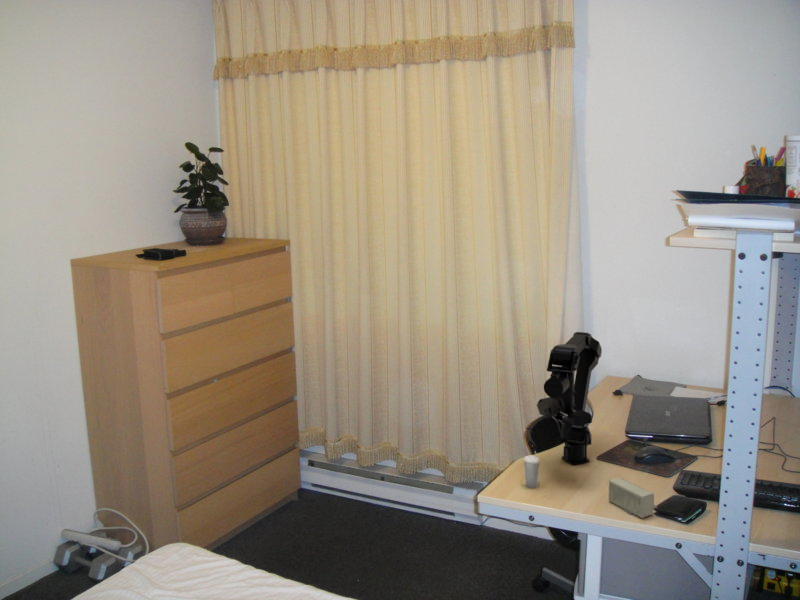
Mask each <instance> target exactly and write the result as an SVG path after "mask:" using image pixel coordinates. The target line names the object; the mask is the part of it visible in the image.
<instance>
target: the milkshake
mask: <svg viewBox="0 0 800 600" xmlns="http://www.w3.org/2000/svg"><path fill="white" fill-rule="evenodd" d="M542 455H543V454H541V456H540V457H537V456H536V455H530V454H529V455H525V457H523V468H524V479H525V480H524V481H525V487H526V488H529V489H534V488H536V487H538V480H539V479H538V478H539V467H540V460H541V458H542Z"/></svg>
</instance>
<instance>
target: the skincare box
mask: <svg viewBox="0 0 800 600" xmlns="http://www.w3.org/2000/svg"><path fill="white" fill-rule="evenodd" d="M654 497H655V493H654V492H652V491H650V490H648V489H645V488H643V487H641V486H640V485H637V484H635V483H633V482H631V481H630V480H628V479H625V478H623V477H621V476H619V477H614V478H611V479H610V480H608V501H609V502H610V503H612V502H613V503H615V504H617V505H618V506H620V507H622V508H624V509H626V510H628V511H630V512H632V513H633V514H632V515H635V516H637V517H639V518H641V519H644V518H647V517H649V516H651V515H654V509H653V508H654V505H655V502H654V501H655V498H654ZM613 503H612V504H613ZM615 504H614V505H615ZM618 506H617V507H618Z"/></svg>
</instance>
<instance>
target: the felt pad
mask: <svg viewBox="0 0 800 600" xmlns="http://www.w3.org/2000/svg"><path fill="white" fill-rule="evenodd" d="M611 503H612V504H613V505H615V506H617V507H618V508H619V509H621V510H623V512H626V513H627V514H629V515H634V514H633V513H632V512H630V511H628V510H626V509H624V508H622V507H620V506H618V505H617V504H615V503H613V502H611ZM656 509H658V506H657V505H655V504H654V508H653V510H656Z"/></svg>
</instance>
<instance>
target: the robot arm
mask: <svg viewBox="0 0 800 600" xmlns="http://www.w3.org/2000/svg"><path fill="white" fill-rule="evenodd" d="M602 354H603V353H602V346H601V344H600V342H599V341H598V340H597V339H596V338H594V337H593V336H592V334H591V333H589V332H584V331H581V332H580V331H577V332H574V333H573V334H572V337H571V338H569V340H567V342H565V343H564V344H557V345H554V347H552V349H551V350H550V354H549V358H548V362H547V366H546V367H547V368H546V372H551V374H550V377H549V378H548V379H547V380H545V382H544V384H543V390H544V393H545V394H546V396H548V397H544V398H540V399H539V400H538V402H537V404H536V406H537V410H538V413H539V415H540V416H543V417H545V418H547V419H549V418H552V419H554V420H555V422H556V425H557V428H558V431H559V439H560V442H561V443H564V446H563V455H562V456H561V459H562V460H564V461H565V462H567V463H569V464H570V465H572V466H577V465H580V464H584V463H585V464H586V463H589V462H590V461H591V460H590V459H589V458H588V455H587V454H588V446H590V445H592V440H593V439H592V433H591V430H590V428H589V424H592V423H593V415H592V414H591V413H590V412H588V411H586V407H587V400H588V395H589V389H590V383H591V377H592V376H591V375H592V371H593V370H594V369H595V368H596V366H598V364H599V360H600V358H601V356H602ZM575 373H576V374H575Z"/></svg>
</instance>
